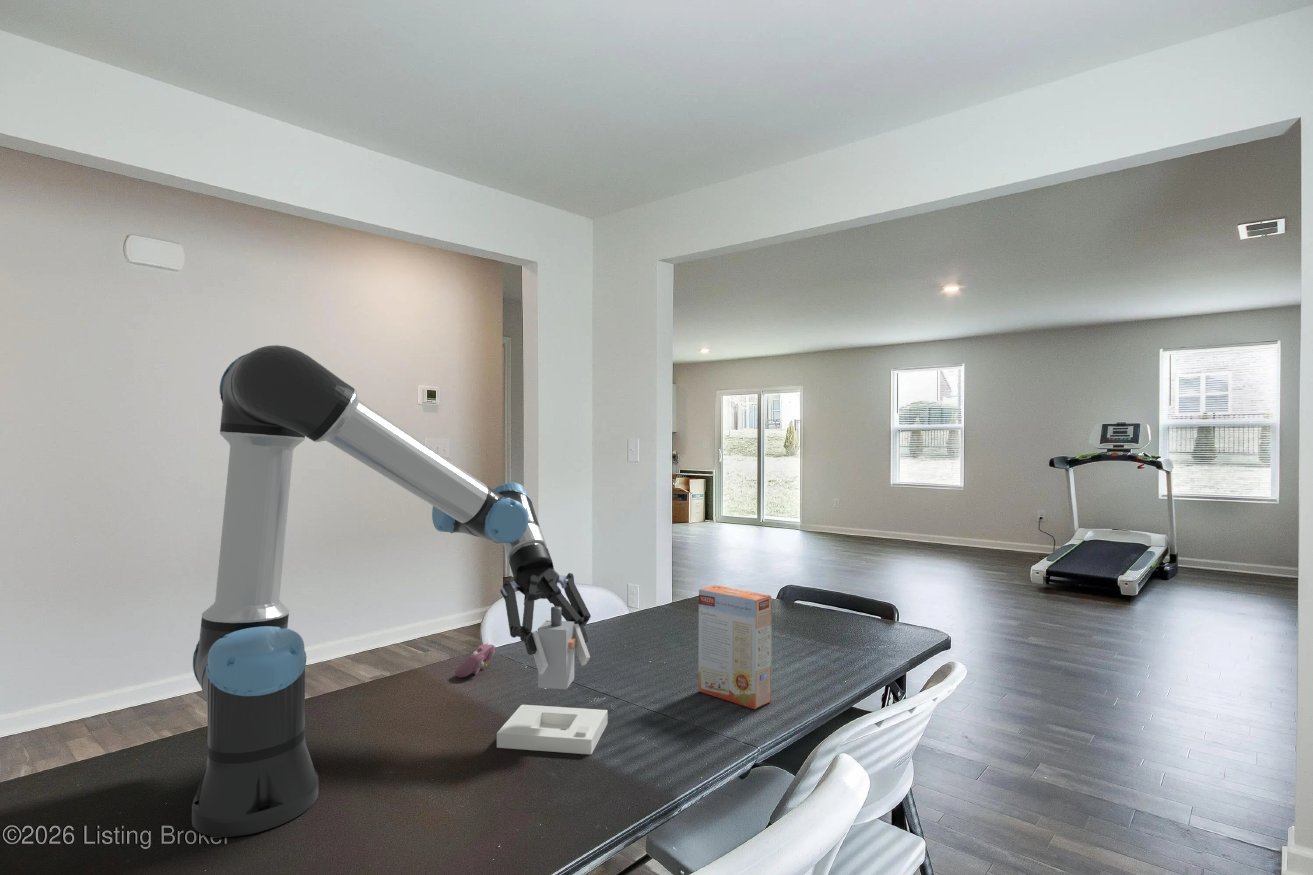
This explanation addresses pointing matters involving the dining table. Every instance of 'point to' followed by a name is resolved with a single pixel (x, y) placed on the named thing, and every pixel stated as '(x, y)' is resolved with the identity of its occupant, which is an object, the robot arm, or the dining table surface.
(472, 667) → the video game controller
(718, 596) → the cracker box
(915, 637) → the dining table surface
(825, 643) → the dining table surface
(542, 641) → the plug
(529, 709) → the socket plate
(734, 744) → the dining table surface
